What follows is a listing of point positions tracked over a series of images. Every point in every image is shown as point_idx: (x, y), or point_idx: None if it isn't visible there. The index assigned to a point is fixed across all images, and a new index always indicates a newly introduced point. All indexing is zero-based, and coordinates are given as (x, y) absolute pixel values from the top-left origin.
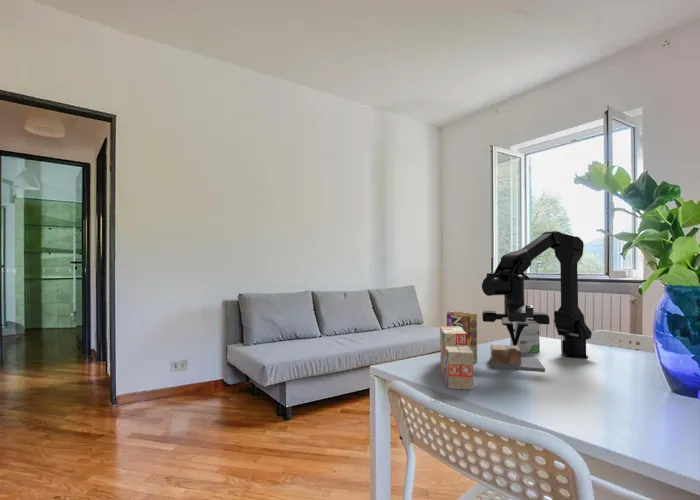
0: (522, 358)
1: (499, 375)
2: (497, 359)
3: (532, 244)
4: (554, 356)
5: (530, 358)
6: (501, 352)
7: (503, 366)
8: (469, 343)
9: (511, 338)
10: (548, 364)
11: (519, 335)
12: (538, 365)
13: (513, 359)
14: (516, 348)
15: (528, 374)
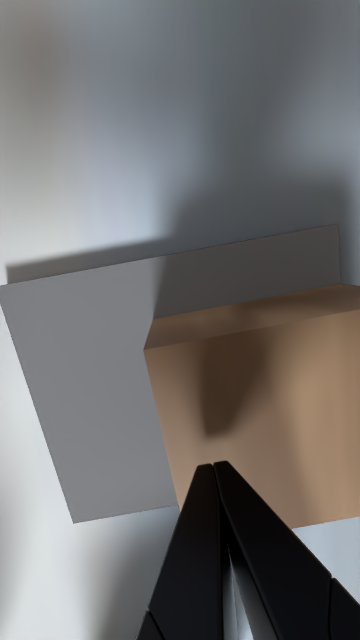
0: (157, 480)
1: (281, 13)
2: (321, 292)
3: None
4: (8, 631)
5: (112, 501)
6: (324, 307)
7: (264, 237)
8: None
9: (282, 521)
10: (12, 460)
11: (152, 609)
12: (44, 349)
13: (206, 316)
14: (194, 450)
15: (94, 151)
